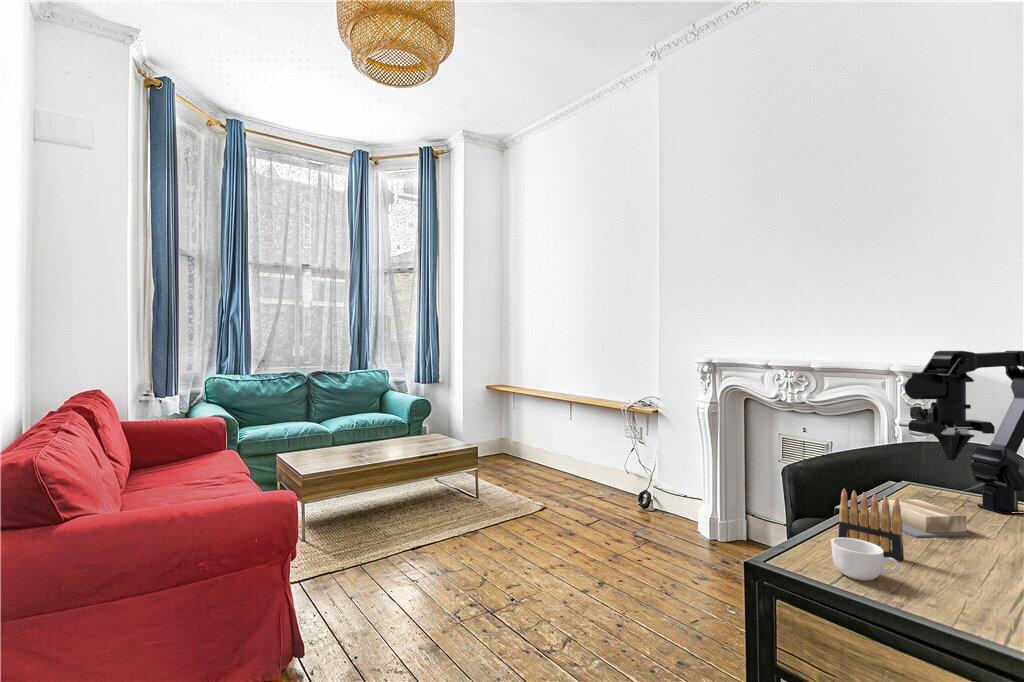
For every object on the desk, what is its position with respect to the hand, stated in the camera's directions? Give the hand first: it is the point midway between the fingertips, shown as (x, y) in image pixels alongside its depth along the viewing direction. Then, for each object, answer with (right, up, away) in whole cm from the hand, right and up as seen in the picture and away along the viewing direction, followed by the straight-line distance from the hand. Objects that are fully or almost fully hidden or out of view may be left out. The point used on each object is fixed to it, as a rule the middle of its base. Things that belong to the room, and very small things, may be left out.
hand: (950, 460), depth 126 cm
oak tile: (-11, -11, -9) cm, 18 cm away
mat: (-18, -13, -10) cm, 24 cm away
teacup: (-49, -12, -37) cm, 62 cm away
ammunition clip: (-40, -13, -26) cm, 49 cm away
